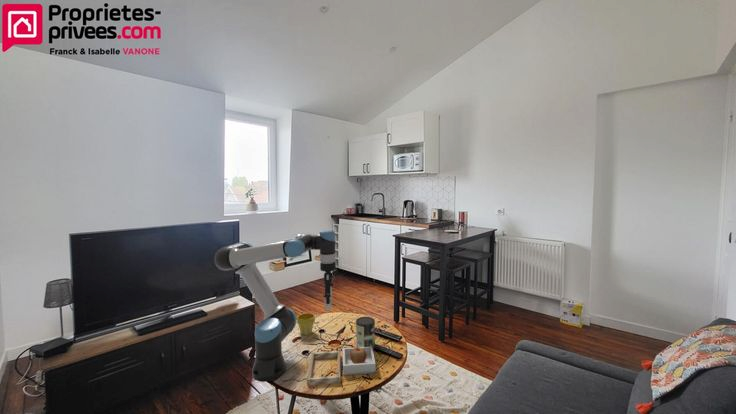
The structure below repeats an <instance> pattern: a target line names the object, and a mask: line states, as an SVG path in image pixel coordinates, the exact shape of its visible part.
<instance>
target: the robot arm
mask: <svg viewBox="0 0 736 414" xmlns="http://www.w3.org/2000/svg"><path fill="white" fill-rule="evenodd" d="M310 250H315V251H317V250H319V262H320V264H319V267H320V269H319V270H320V271H322V272H324V273H323V279H324V294H323V298H324V309H325V310H324V311H332V299H333V290H332V289H333V286H334V284H333V281H332V279H333V272H334V271H335V270H336V269H337V268H336V267H337V265H336V264H337V263H336V259H337V254H336V233H335V231H334V230H332V229H322V230H320V231H319V234H314V233H313V234H310V233H301V234H296V236H295V238H293V239H288V240H283V241H277V242H272V243H267V244H261V245H256V246H253V245H252V244H251V243H249V242H246V241H242V242H241V241H240V242H236V243H233V244H230V245H226V246H223V247H221V248H219V249H218V250H217V251H216V252H215V254H214V256H213V257H214V264H215V266H216V268H218V269H219V270H220V271H221V270H222V271H231V270H233V272H234V273H235V274H238V275H240V277H241V278H242V280H243V281H244V284H245V285H246V286H247V289H249V291H250V292H251V294H252V296H253V298H254V299H255V301H256V302H257V305H259V308H260V309H261V310H262V312H263V314H264V317H263V320H261V321H260V322H258V323H257V324H256V326H255V329H254V345H255V360H254V363H253V365H252V366H253V367H252V370H251V372H252V374H251V375H252V378H253V380H255V381H256V382H257V381H258V382H262V383H265V382H271V381H275V380H277V379H279V378H281V377H282V376H283V375H284V374H285V373H286V370H287V363H286V361H285V357H284V355H283V352H282V351H283V348H282V342H283V341H284V340H285V339H286V337H287V336H288V335H289V334H290V333H292V331H293V330H294V328H295V327H296V325H297V316H296V313H295V312H294V310H292V309H290V308H287V307H286V306H285V305H286V304H282V303H280V302H279V300H278V299H277V297H276V295H275V294H274V292H273V290H272V289H271V287H270V285H269V284H268V282H267V280H266V279H265V278H264V276H263V275H262V272H261V271H260V270H259V267H258V266H257V263H263V262H266V261H272V260H278V259H285V258H297V257H299V256H301V255H303V254H305V253H306V252H308V251H310Z"/></svg>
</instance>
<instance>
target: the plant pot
mask: <svg viewBox="0 0 736 414" xmlns="http://www.w3.org/2000/svg"><path fill="white" fill-rule="evenodd" d="M315 321H316V315H315V314H314V313H311V312H305V313H301V314H299V315H297V316H296V324H298V328H299V332H300V334H301V335H302V336H303V335H305V336H308V335H310V334H311V333H312V332H313V328H314V323H315Z"/></svg>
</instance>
